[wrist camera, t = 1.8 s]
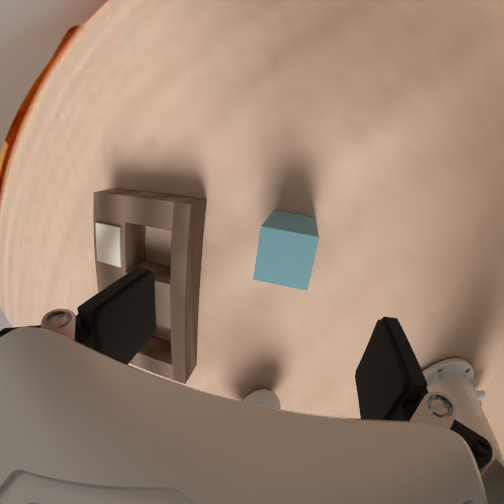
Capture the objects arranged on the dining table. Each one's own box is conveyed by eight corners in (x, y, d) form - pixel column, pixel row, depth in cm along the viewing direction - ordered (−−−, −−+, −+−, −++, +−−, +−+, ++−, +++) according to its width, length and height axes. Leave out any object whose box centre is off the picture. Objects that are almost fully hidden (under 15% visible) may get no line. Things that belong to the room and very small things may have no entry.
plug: (315, 217, 26) (318, 237, 18) (307, 256, 27) (306, 290, 19) (274, 210, 26) (261, 226, 19) (268, 249, 27) (253, 279, 20)
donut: (268, 370, 32) (253, 431, 23) (290, 383, 32) (280, 444, 23) (229, 405, 36) (209, 457, 26) (248, 415, 36) (232, 467, 26)
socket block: (206, 199, 27) (189, 204, 23) (196, 365, 34) (184, 385, 30) (115, 188, 29) (92, 192, 25) (123, 339, 36) (107, 354, 32)
